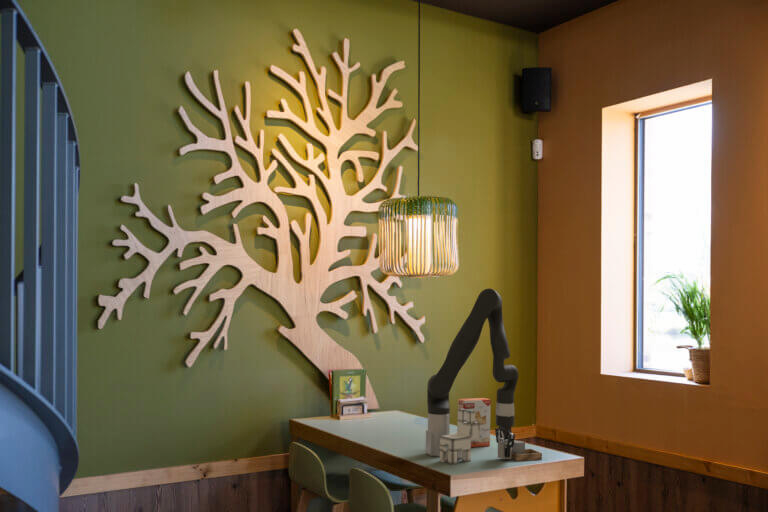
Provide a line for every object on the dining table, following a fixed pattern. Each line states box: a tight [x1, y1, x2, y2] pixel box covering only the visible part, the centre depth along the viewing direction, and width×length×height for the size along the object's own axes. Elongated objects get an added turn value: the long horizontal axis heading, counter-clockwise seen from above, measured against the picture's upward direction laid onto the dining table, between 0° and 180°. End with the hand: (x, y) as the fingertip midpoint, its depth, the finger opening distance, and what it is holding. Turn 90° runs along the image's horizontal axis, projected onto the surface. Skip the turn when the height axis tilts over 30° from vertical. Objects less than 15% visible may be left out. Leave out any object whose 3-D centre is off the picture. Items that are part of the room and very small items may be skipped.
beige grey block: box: [497, 442, 512, 460], centre depth 300 cm, size 4×4×6 cm
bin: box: [511, 448, 543, 462], centre depth 304 cm, size 12×9×2 cm
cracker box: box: [456, 397, 492, 448], centre depth 327 cm, size 14×6×21 cm, turn 112°
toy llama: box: [439, 408, 480, 466], centre depth 297 cm, size 8×18×20 cm, turn 128°
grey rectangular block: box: [512, 440, 526, 454], centre depth 303 cm, size 4×4×6 cm
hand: (504, 455), depth 299 cm, fingers closed on beige grey block, 4 cm apart
